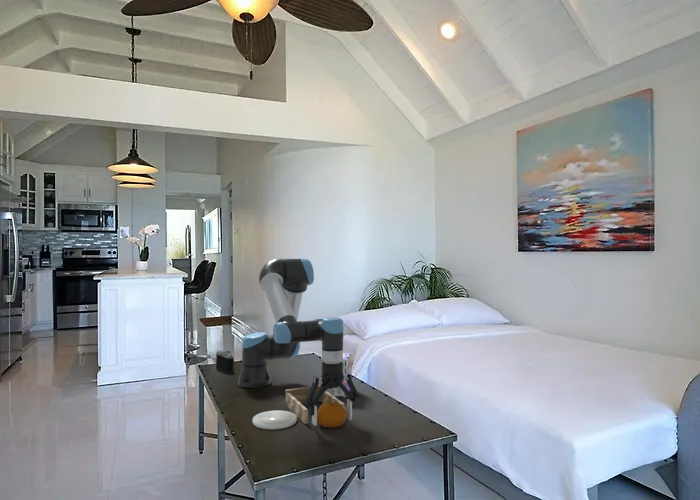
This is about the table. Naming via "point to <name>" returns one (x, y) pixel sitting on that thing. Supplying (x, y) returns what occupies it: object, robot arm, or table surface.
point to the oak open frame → (299, 395)
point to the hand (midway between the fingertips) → (332, 421)
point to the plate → (274, 420)
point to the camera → (225, 361)
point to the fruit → (331, 415)
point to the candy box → (346, 369)
